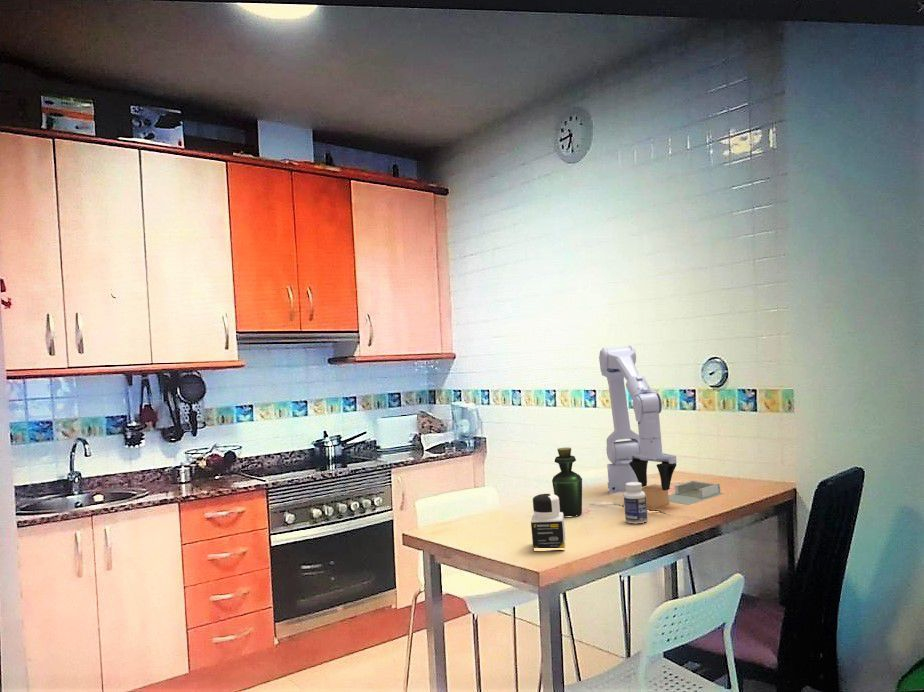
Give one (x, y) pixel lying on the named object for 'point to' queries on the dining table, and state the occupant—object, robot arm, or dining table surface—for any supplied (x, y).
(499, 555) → the dining table surface
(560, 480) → the potion bottle
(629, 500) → the pill bottle
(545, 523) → the medicine bottle
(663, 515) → the dining table surface
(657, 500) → the chute block
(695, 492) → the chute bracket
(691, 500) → the deck plate
